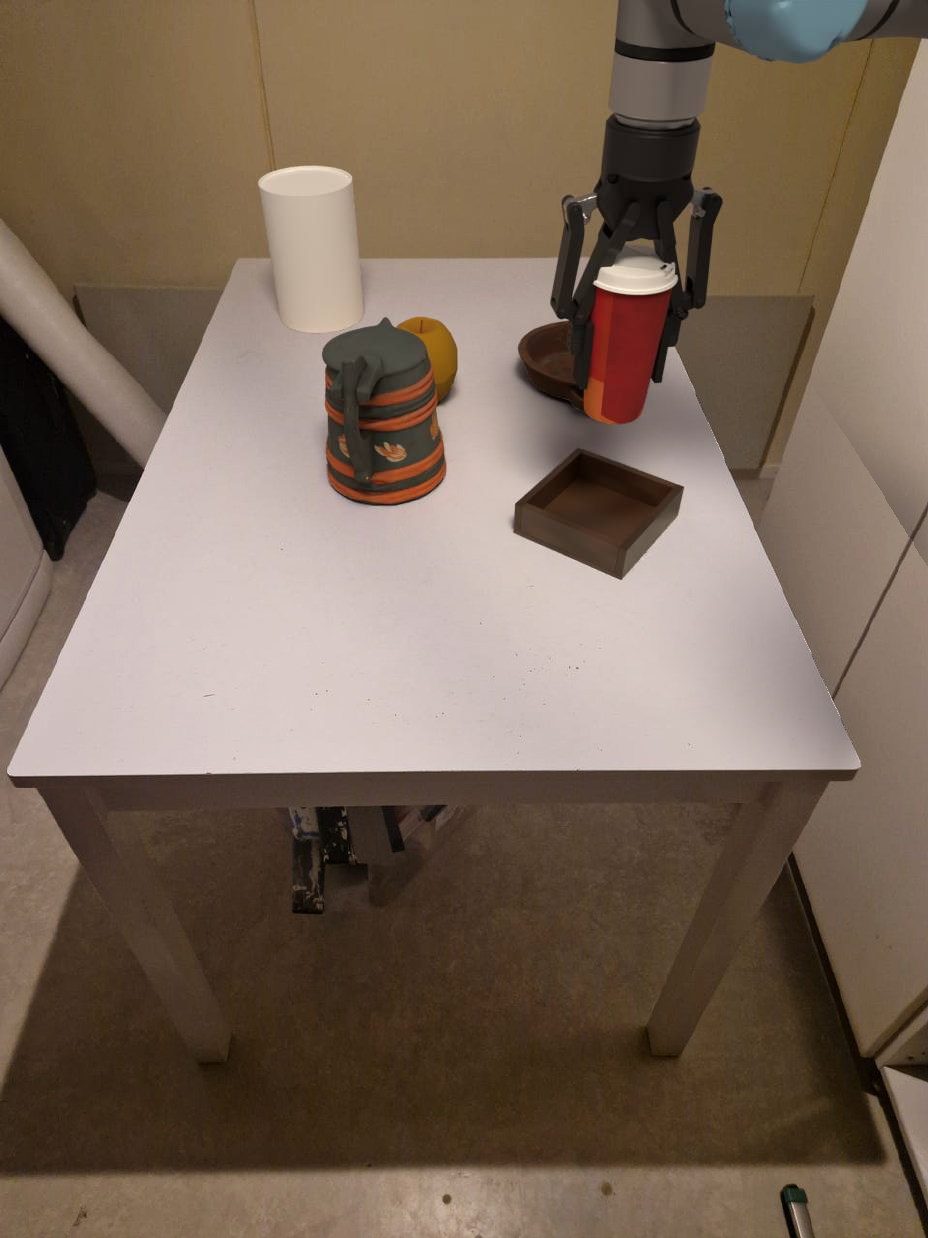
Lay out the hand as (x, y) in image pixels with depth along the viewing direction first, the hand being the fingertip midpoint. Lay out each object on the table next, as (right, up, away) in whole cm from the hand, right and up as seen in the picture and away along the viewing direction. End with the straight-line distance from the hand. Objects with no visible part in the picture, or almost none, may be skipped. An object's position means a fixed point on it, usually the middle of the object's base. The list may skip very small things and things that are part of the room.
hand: (617, 379), depth 82 cm
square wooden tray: (0, -13, +13) cm, 18 cm away
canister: (-38, +25, +52) cm, 69 cm away
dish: (+1, +10, +36) cm, 38 cm away
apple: (-21, +6, +33) cm, 39 cm away
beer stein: (-25, -7, +19) cm, 32 cm away
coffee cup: (0, -2, +2) cm, 4 cm away
